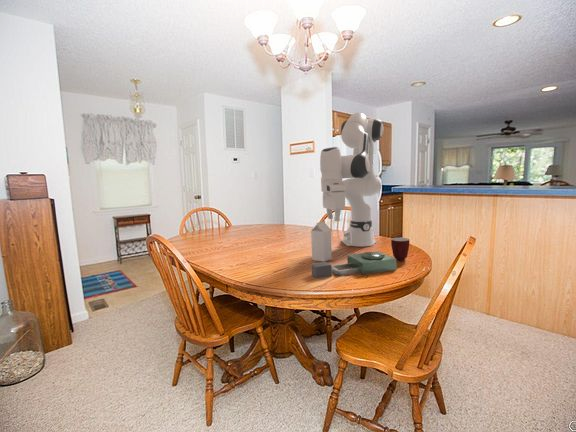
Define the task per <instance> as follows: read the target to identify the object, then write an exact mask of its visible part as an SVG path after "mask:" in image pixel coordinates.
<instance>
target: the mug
mask: <svg viewBox="0 0 576 432" xmlns="http://www.w3.org/2000/svg"><path fill="white" fill-rule="evenodd" d="M390 242H391V251H392V254H393V258H396V261H399V262H402V261H405V260H406V258H407V256H408V255H409V251H410V250H409V248H410V239H409V238H407V237H392V238H391V240H390Z"/></svg>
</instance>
